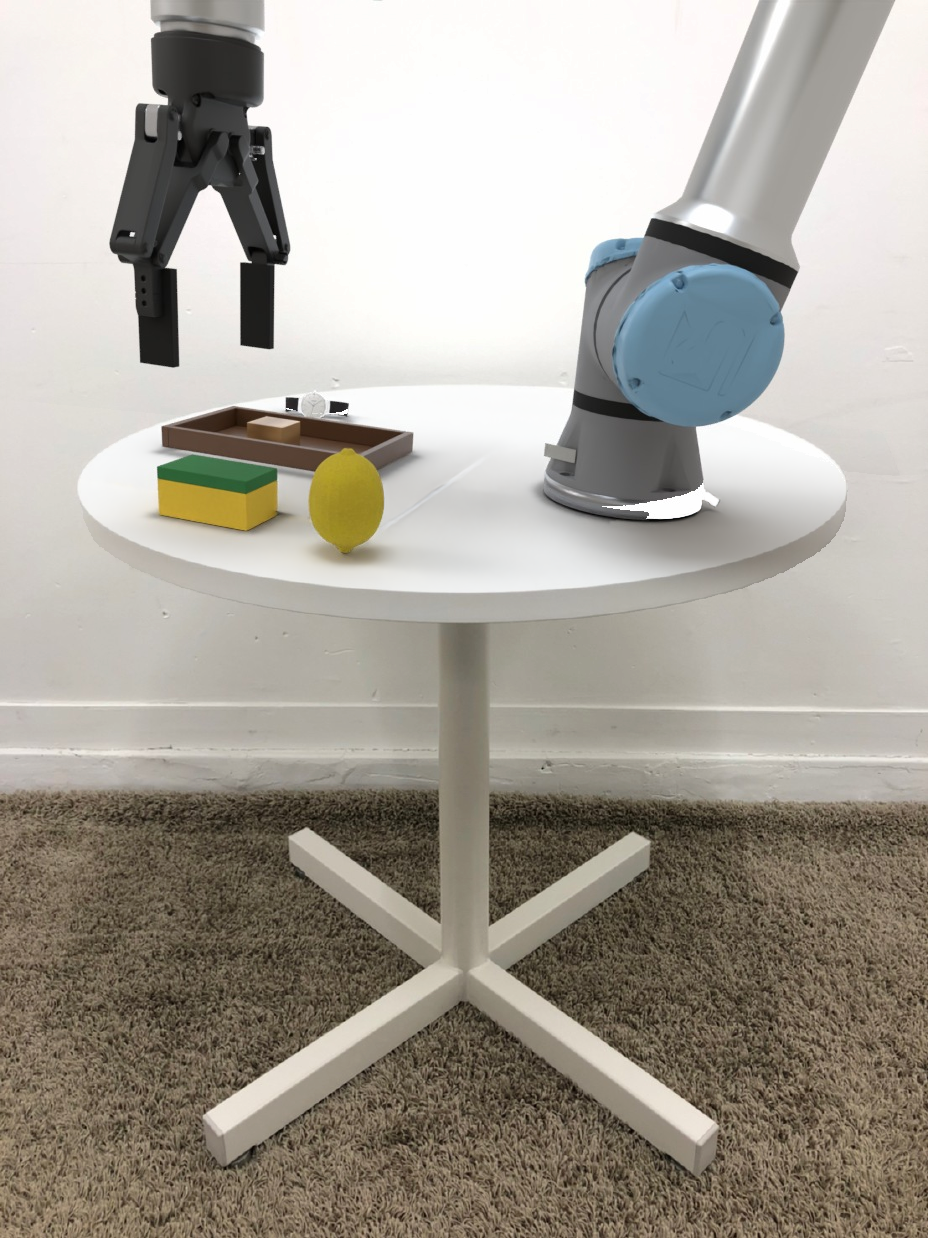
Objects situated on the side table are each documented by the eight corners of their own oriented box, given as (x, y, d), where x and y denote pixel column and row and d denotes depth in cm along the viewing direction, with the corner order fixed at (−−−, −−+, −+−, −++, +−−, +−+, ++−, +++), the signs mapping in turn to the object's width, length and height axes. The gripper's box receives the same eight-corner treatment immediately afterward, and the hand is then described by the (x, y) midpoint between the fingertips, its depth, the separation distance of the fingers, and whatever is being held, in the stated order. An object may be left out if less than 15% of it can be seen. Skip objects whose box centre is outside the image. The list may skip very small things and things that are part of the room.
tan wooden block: (300, 445, 101) (300, 421, 100) (281, 452, 98) (282, 427, 97) (266, 439, 102) (266, 416, 101) (246, 446, 99) (246, 422, 98)
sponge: (193, 500, 82) (192, 454, 81) (277, 515, 80) (277, 468, 79) (158, 514, 78) (156, 466, 76) (246, 531, 76) (246, 481, 74)
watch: (280, 419, 115) (280, 388, 114) (290, 412, 120) (290, 382, 118) (344, 425, 115) (345, 394, 114) (351, 417, 119) (352, 388, 118)
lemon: (305, 563, 70) (307, 455, 67) (310, 539, 75) (311, 437, 72) (382, 567, 71) (387, 459, 68) (381, 542, 76) (386, 441, 73)
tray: (412, 456, 103) (413, 432, 102) (360, 484, 91) (361, 457, 90) (233, 428, 109) (233, 405, 108) (162, 451, 97) (160, 426, 96)
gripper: (252, 64, 78) (251, 335, 86) (33, -8, 56) (60, 366, 64) (336, 69, 76) (328, 346, 84) (144, -4, 54) (157, 381, 62)
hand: (212, 355), depth 74 cm, fingers open, 13 cm apart
